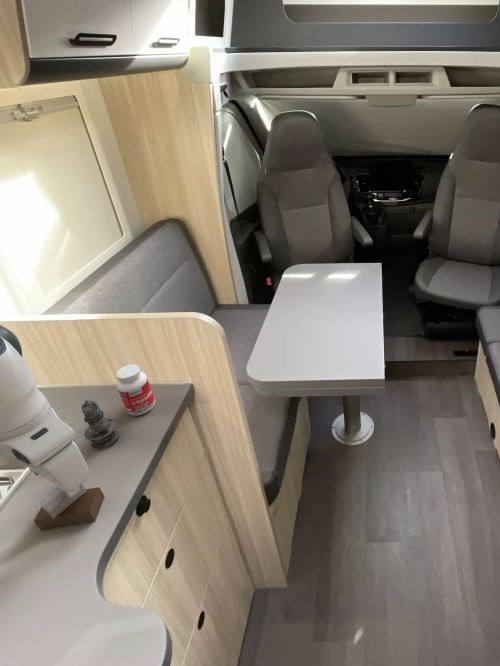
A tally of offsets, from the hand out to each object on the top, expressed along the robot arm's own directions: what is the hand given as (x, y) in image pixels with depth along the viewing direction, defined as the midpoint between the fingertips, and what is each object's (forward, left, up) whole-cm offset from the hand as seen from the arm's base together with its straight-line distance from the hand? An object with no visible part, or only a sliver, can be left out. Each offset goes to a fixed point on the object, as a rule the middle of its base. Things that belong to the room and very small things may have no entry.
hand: (56, 481), depth 77 cm
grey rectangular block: (0, 0, -6) cm, 6 cm away
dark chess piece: (0, +17, -9) cm, 19 cm away
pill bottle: (+5, +26, -9) cm, 28 cm away
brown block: (0, 0, -9) cm, 9 cm away
